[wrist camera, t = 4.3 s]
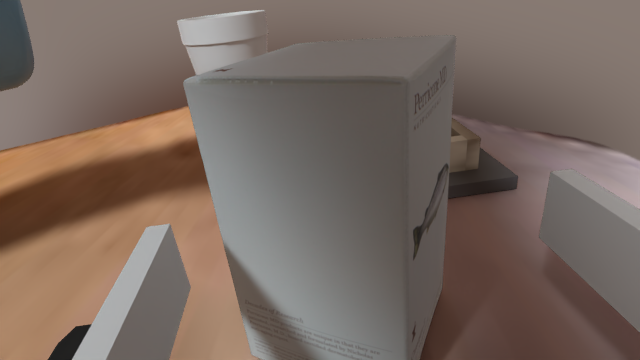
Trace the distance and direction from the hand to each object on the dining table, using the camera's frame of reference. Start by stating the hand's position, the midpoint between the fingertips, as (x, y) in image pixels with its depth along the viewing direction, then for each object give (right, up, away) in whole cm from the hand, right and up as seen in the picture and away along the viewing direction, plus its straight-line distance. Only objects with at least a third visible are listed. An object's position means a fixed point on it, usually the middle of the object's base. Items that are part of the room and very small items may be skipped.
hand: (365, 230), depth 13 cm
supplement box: (0, -5, +5) cm, 8 cm away
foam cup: (-11, +8, +34) cm, 37 cm away
